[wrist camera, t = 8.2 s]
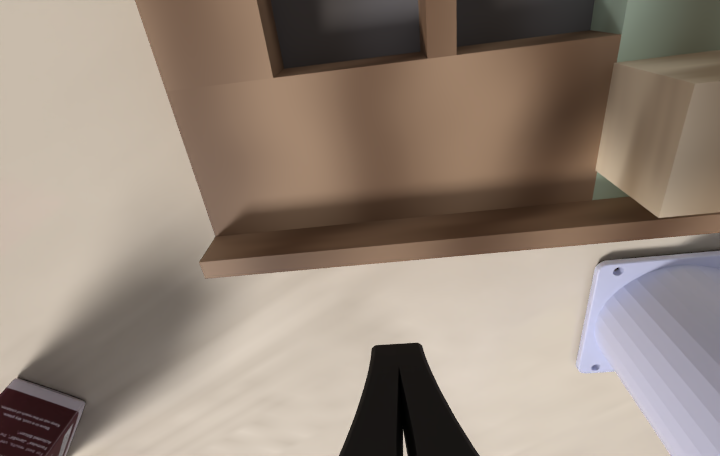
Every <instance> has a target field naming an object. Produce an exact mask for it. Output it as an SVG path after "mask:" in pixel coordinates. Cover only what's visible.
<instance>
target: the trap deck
mask: <svg viewBox="0 0 720 456" xmlns="http://www.w3.org/2000/svg"><path fill="white" fill-rule="evenodd" d="M135 2H136V5H137V8H138V11H139V13H140V16H141V19H142V22H143V25H144V28H145V31H146V34H147V37H148V40H149V43H150V46H151V49H152V52H153V54H154V57H155V60H156V63H157V66H158V69H159V72H160V75H161V78H162V81H163V84H164V87H165V90H166V93H167V96H168V98H169V101H170V104H171V107H172V110H173V113H174V116H175V119H176V122H177V125H178V128H179V131H180V134H181V137H182V140H183V142H184V145H185V148H186V151H187V154H188V157H189V160H190V163H191V166H192V169H193V172H194V175H195V178H196V181H197V183H198V186H199V189H200V192H201V195H202V198H203V201H204V204H205V207H206V210H207V213H208V216H209V219H210V222H211V225H212V227H213V230H214V233H215V236H216V237H215V238H214V240H213V242H212V243H211V245H210V246H209V248H208V249H207V251H206V253H205V254H204V256H203V257H202V259H201V260H200V262H199V263H200V266H201V268H202V271H203V274H204V276H205V279H207V278H218V277H229V276H240V275H252V274H263V273H274V272H285V271H296V270H307V269H319V268H330V267H341V266H352V265H363V264H374V263H386V262H397V261H408V260H419V259H430V258H442V257H453V256H464V255H475V254H486V253H497V252H509V251H520V250H531V249H542V248H553V247H565V246H576V245H587V244H598V243H609V242H620V241H632V240H643V239H654V238H665V237H676V236H687V235H699V234H710V233H720V212H717V213H706V214H696V215H685V216H674V217H664V218H658V217H657V216H655V215H654V214H653V213H651V212H650V211H649V210H647V209H646V208H645V207H643V206H642V205H641V204H639V203H638V202H637V201H635V200H634V199H633V198H631V197H630V196H629V195H627V194H626V193H625V192H623V191H622V190H621V189H619V188H618V187H617V186H615V185H614V184H613V183H611V182H610V181H609V180H607V179H606V178H605V177H603V176H602V175H601V174H599V173H598V172H597V171H595V170H596V164H597V158H598V152H599V147H600V141H601V135H602V129H603V124H604V118H605V112H606V106H607V101H608V95H609V89H610V83H611V78H612V72H613V66H614V63H617V62H625V61H633V60H641V59H649V58H658V57H666V56H674V55H682V54H691V53H699V52H707V51H715V50H720V0H135Z"/></svg>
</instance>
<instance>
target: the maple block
mask: <svg viewBox="0 0 720 456" xmlns="http://www.w3.org/2000/svg"><path fill="white" fill-rule="evenodd" d="M595 171H597V172H598V173H599V174H601V175H602V176H603V177H605V178H606V179H607V180H609V181H610V182H611V183H613V184H614V185H615V186H617V187H618V188H619V189H621V190H622V191H623V192H625V193H626V194H627V195H629V196H630V197H631V198H633V199H634V200H635V201H637V202H638V203H639V204H641V205H642V206H643V207H645V208H646V209H647V210H649V211H650V212H651V213H653V214H654V215H655V216H657V217H658V218H664V217H674V216H685V215H696V214H706V213H717V212H720V50H715V51H707V52H699V53H691V54H682V55H674V56H666V57H658V58H649V59H641V60H633V61H625V62H617V63H614V66H613V72H612V78H611V83H610V89H609V95H608V101H607V106H606V112H605V118H604V124H603V129H602V135H601V141H600V147H599V152H598V158H597V164H596V170H595Z"/></svg>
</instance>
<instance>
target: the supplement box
mask: <svg viewBox="0 0 720 456" xmlns="http://www.w3.org/2000/svg"><path fill="white" fill-rule="evenodd" d="M84 406H85V402H84V401H82V400H80V399H77V398H74V397H72V396H69V395H67V394H64V393H61V392H58V391H55V390H53V389H50V388H46V387H43V386H40V385H37V384H34V383H31V382H28V381H25V380H22V379H19V378H17V379H14V380H13V381H12V382H11V383H10V384H9V385H8V386H7V387H6V388H5V390H4V391H3V392H2V393H1V394H0V456H66V455H67V452H68V449H69V447H70V444H71V441H72V439H73V436H74V433H75V431H76V428H77V425H78V423H79V420H80V417H81V415H82V412H83V409H84Z"/></svg>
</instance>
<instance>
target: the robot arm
mask: <svg viewBox="0 0 720 456" xmlns="http://www.w3.org/2000/svg"><path fill="white" fill-rule="evenodd" d="M618 267H619V269H617V270H616V271H614V270H615V269H616V268H618ZM576 367H577V369H578V370H579V372H581V373H597V372H612V371H615V372H616V374H617V375H618V377H619V378H620V380H621V381H622V383H623V384H624V386H625V387H626V389H627V390H628V392H629V393H630V395H631V396H632V398H633V399H634V401H635V402H636V404H637V405H638V407H639V408H640V410H641V411H642V413H643V414H644V416H645V417H646V419H647V420H648V422H649V423H650V425H651V426H652V428H653V429H654V431H655V432H656V434H657V435H658V437H659V438H660V440H661V441H662V443H663V444H664V446H665V447H666V449H667V450H668V452H669V453H670V455H671V456H720V251H711V252H699V253H687V254H676V255H664V256H653V257H641V258H630V259H618V260H606V261H602V262H601V263H599V264H598V265H597V266H596V268H595V271H594V276H593V281H592V286H591V291H590V296H589V301H588V306H587V311H586V316H585V321H584V326H583V331H582V336H581V341H580V346H579V351H578V356H577V361H576ZM403 431H404V437H405V443H406V448H407V454H408V456H479V454H478V453H477V451H476V450H475V448H474V447H473V445H472V444H471V442H470V441H469V439H468V437H467V436H466V434H465V433H464V431H463V429H462V428H461V426H460V425H459V423H458V421H457V419H456V418H455V416H454V414H453V413H452V411H451V409H450V407H449V405H448V403H447V402H446V400H445V398H444V396H443V394H442V392H441V391H440V389H439V387H438V385H437V382H436V380H435V378H434V376H433V374H432V372H431V369H430V367H429V365H428V362H427V360H426V357H425V354H424V351H423V348H422V345H420V344H419V343H407V344H390V345H375V346H374V347H373V348H372V352H371V360H370V366H369V371H368V375H367V379H366V382H365V386H364V390H363V393H362V396H361V399H360V402H359V405H358V409H357V412H356V414H355V417H354V420H353V422H352V425H351V428H350V430H349V433H348V435H347V438H346V440H345V443H344V445H343V448H342V450H341V452H340V455H339V456H403Z"/></svg>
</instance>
